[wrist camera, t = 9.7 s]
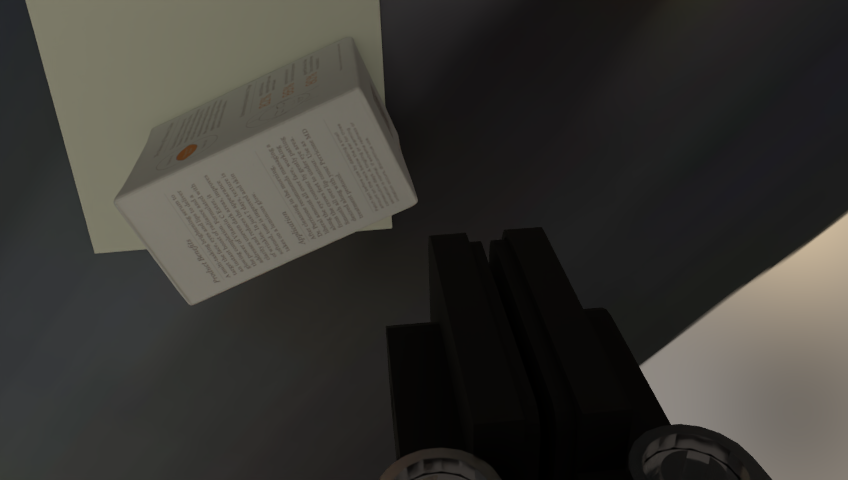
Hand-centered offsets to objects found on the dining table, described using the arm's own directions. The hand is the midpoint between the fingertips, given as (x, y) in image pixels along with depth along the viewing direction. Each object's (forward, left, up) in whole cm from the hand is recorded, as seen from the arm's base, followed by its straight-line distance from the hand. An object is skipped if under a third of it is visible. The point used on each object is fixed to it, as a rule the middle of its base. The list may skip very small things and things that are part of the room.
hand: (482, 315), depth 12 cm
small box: (0, +4, -22) cm, 22 cm away
